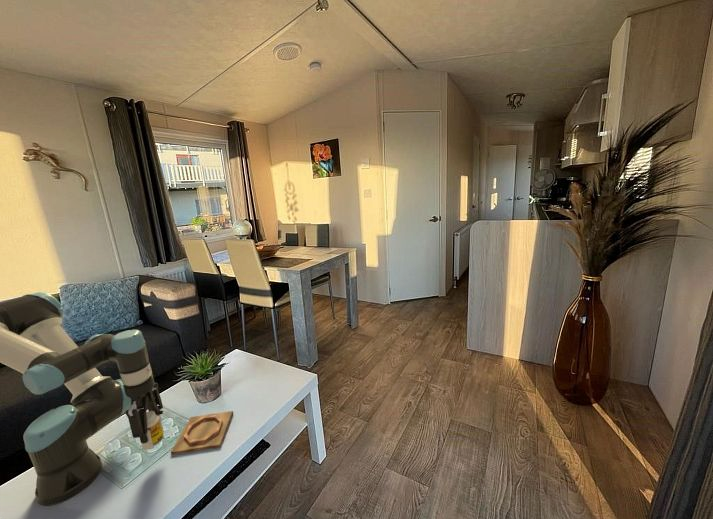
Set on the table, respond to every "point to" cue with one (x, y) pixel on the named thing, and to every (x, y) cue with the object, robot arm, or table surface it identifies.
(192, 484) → the table surface
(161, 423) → the robot arm
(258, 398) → the table surface
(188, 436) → the holder board
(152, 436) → the supplement bottle
